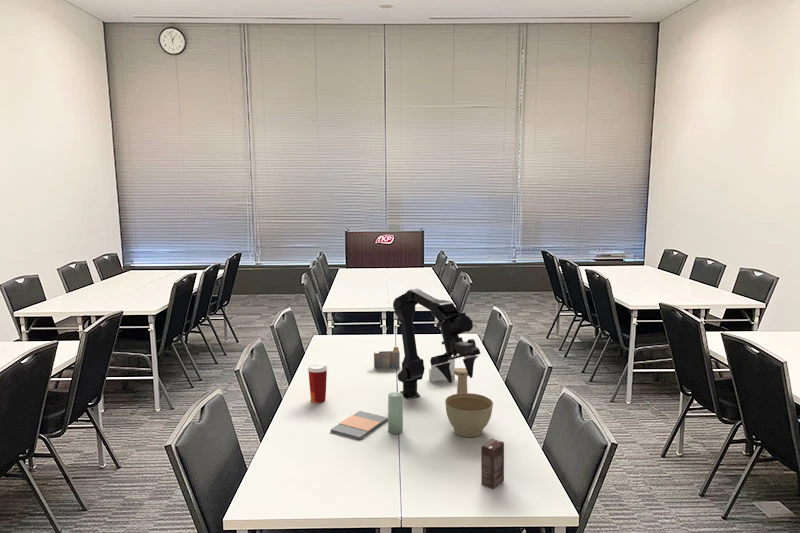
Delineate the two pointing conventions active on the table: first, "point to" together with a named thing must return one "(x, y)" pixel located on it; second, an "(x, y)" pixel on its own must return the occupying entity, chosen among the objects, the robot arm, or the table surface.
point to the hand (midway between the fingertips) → (461, 380)
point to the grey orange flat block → (359, 425)
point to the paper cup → (317, 382)
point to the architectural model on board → (387, 359)
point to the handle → (461, 379)
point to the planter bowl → (468, 413)
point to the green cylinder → (395, 413)
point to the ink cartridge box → (438, 375)
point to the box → (492, 463)
